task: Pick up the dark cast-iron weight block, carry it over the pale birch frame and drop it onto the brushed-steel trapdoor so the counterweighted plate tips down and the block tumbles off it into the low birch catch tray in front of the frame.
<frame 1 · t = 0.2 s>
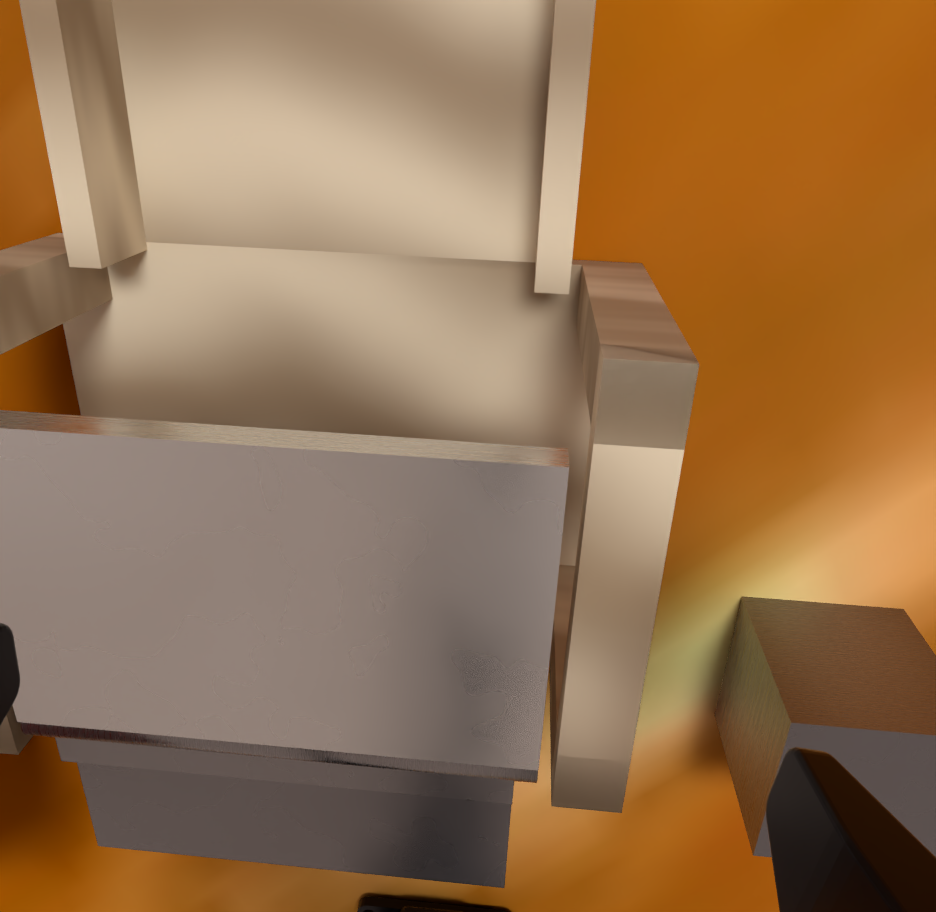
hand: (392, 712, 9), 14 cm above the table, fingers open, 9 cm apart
frame: (349, 442, 23), on the table
iron weight: (803, 663, 26), on the table
trapdoor: (305, 624, 20), point 5 cm above the table, hinge at 0.0°
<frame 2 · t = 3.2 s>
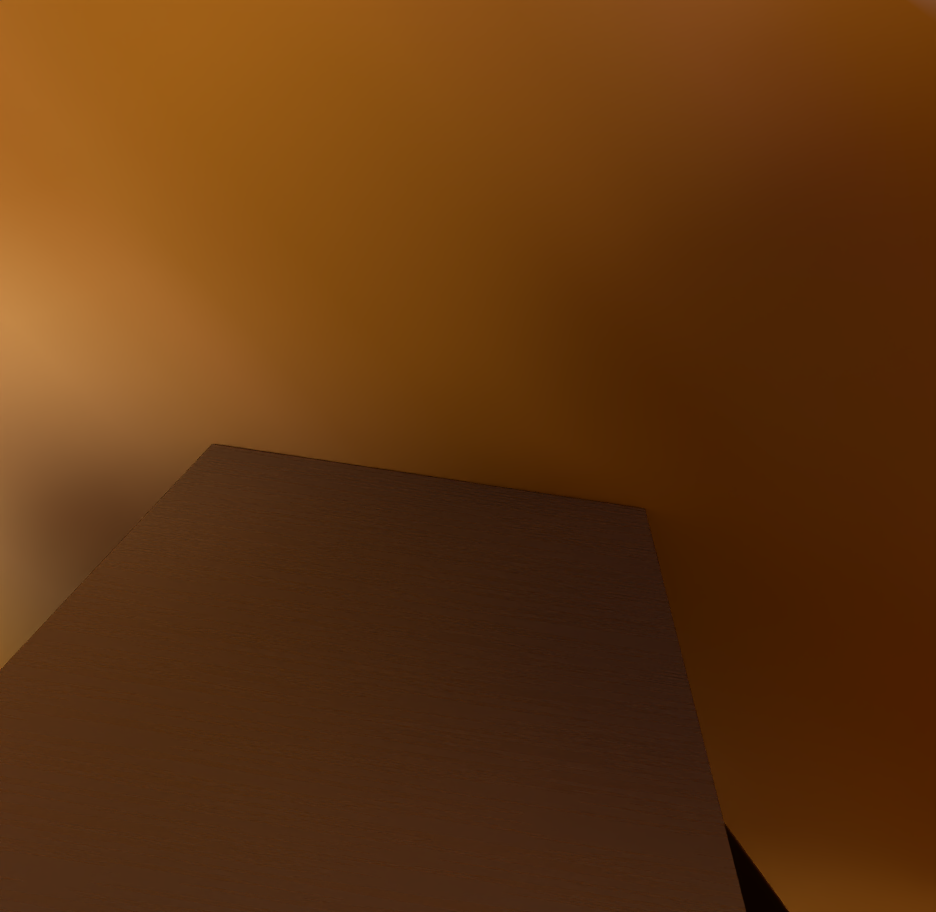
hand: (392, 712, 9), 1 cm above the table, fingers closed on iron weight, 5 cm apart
iron weight: (407, 648, 10), on the table, touching gripper
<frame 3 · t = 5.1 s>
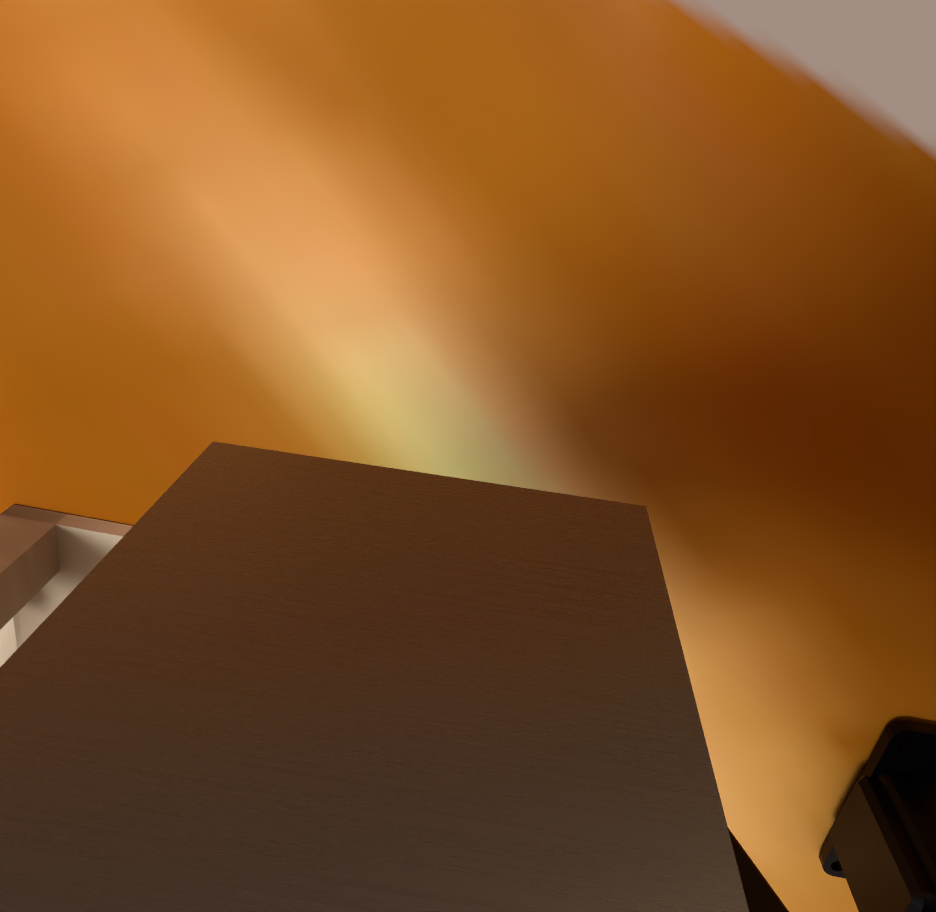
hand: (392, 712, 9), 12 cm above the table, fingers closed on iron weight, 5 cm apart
frame: (205, 739, 26), on the table
iron weight: (408, 646, 10), point 11 cm above the table, touching gripper
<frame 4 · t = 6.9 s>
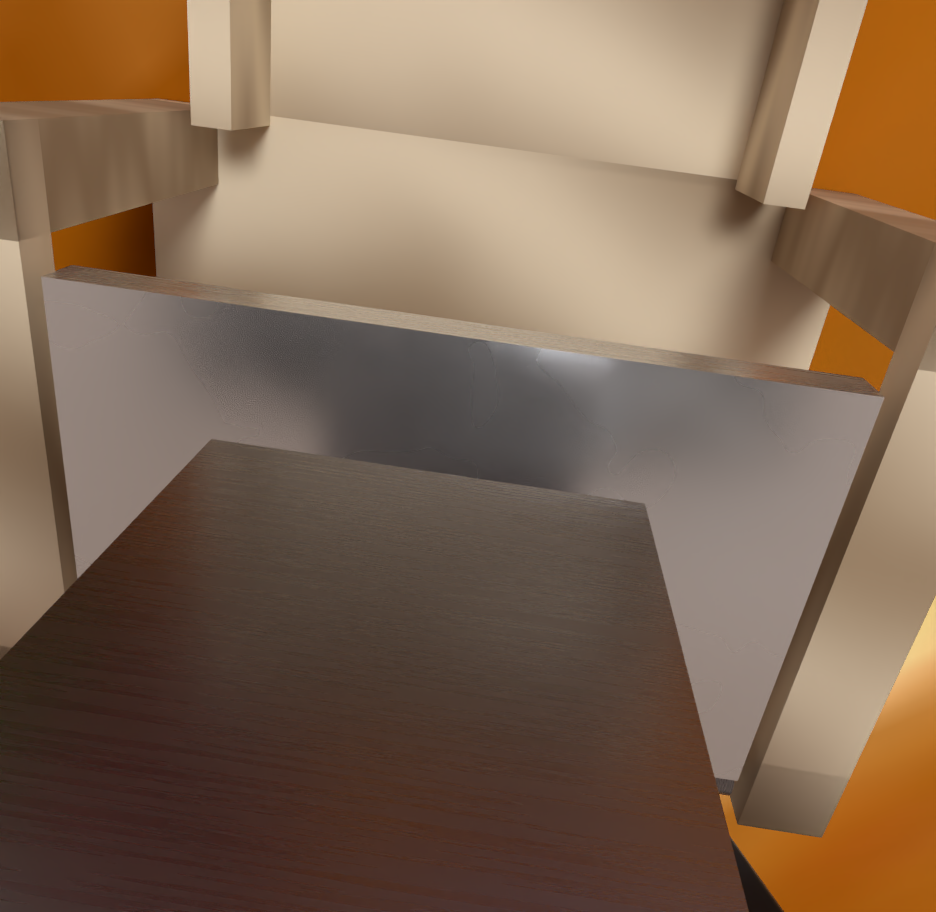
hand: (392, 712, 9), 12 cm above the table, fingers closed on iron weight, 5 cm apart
frame: (471, 383, 20), on the table
iron weight: (407, 644, 10), point 11 cm above the table, touching gripper
trapdoor: (436, 587, 16), point 5 cm above the table, hinge at 0.0°
when the fingers open (12 cm above the table, at t = 7.0 s): iron weight drops 5 cm, resting on trapdoor.
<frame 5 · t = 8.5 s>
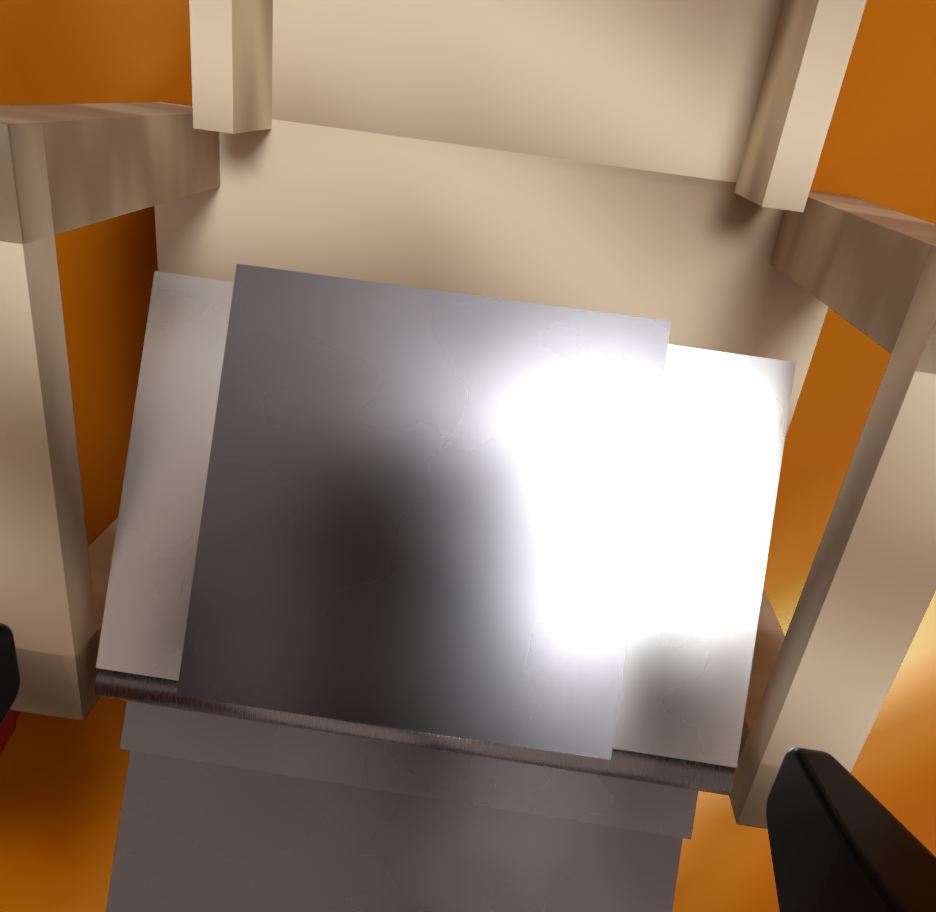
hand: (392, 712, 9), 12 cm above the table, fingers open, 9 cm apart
frame: (472, 385, 20), on the table
iron weight: (447, 490, 14), point 6 cm above the table, tilted 26°, touching trapdoor
trapdoor: (432, 624, 17), point 5 cm above the table, hinge at -25.7°, touching iron weight
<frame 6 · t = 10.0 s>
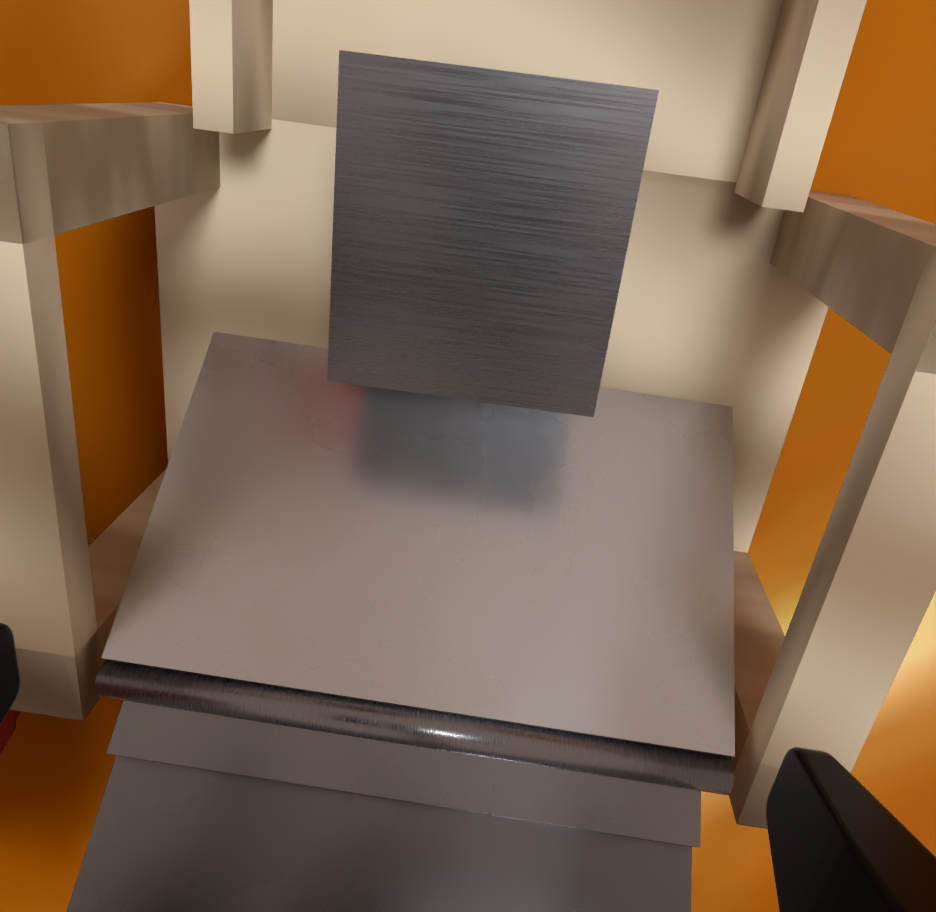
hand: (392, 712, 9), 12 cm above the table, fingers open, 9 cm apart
frame: (472, 385, 20), on the table
iron weight: (470, 357, 17), point 3 cm above the table, tilted 90°, touching frame
trapdoor: (425, 674, 18), point 5 cm above the table, hinge at -51.1°
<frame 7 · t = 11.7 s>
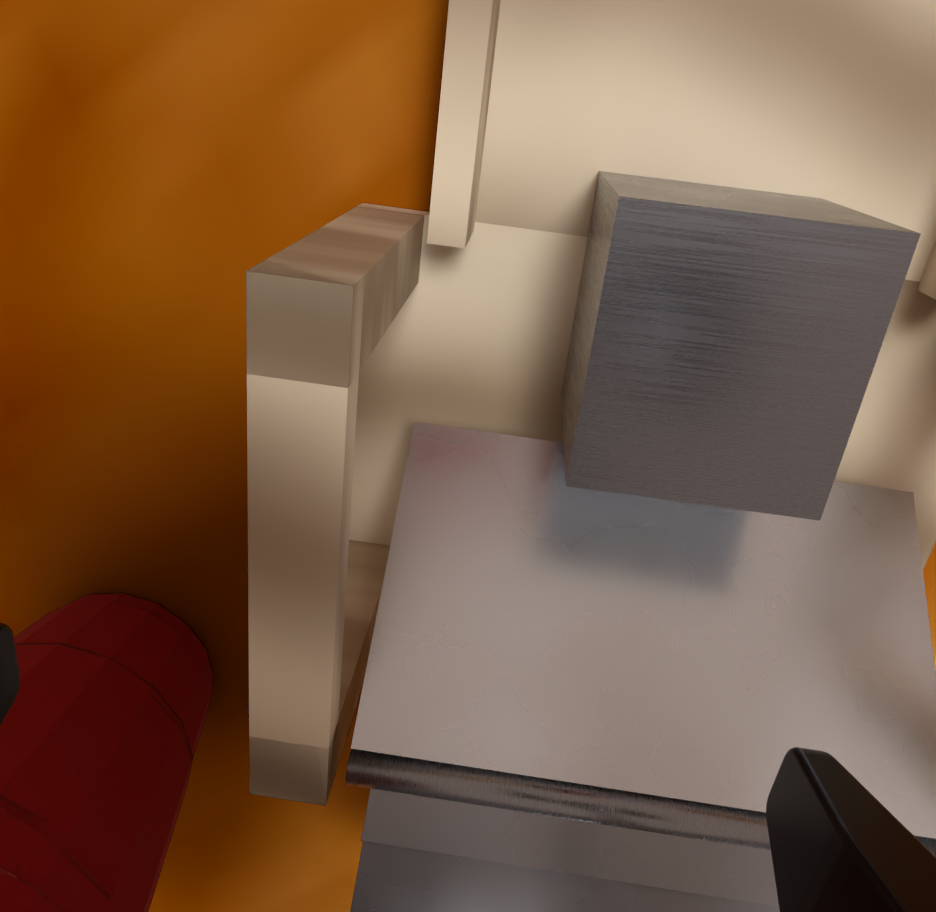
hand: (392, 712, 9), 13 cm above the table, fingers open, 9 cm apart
plastic cup: (131, 663, 26), on the table
frame: (640, 462, 21), on the table
iron weight: (672, 450, 17), point 3 cm above the table, tilted 90°, touching frame
trapdoor: (620, 749, 18), point 5 cm above the table, hinge at -51.1°
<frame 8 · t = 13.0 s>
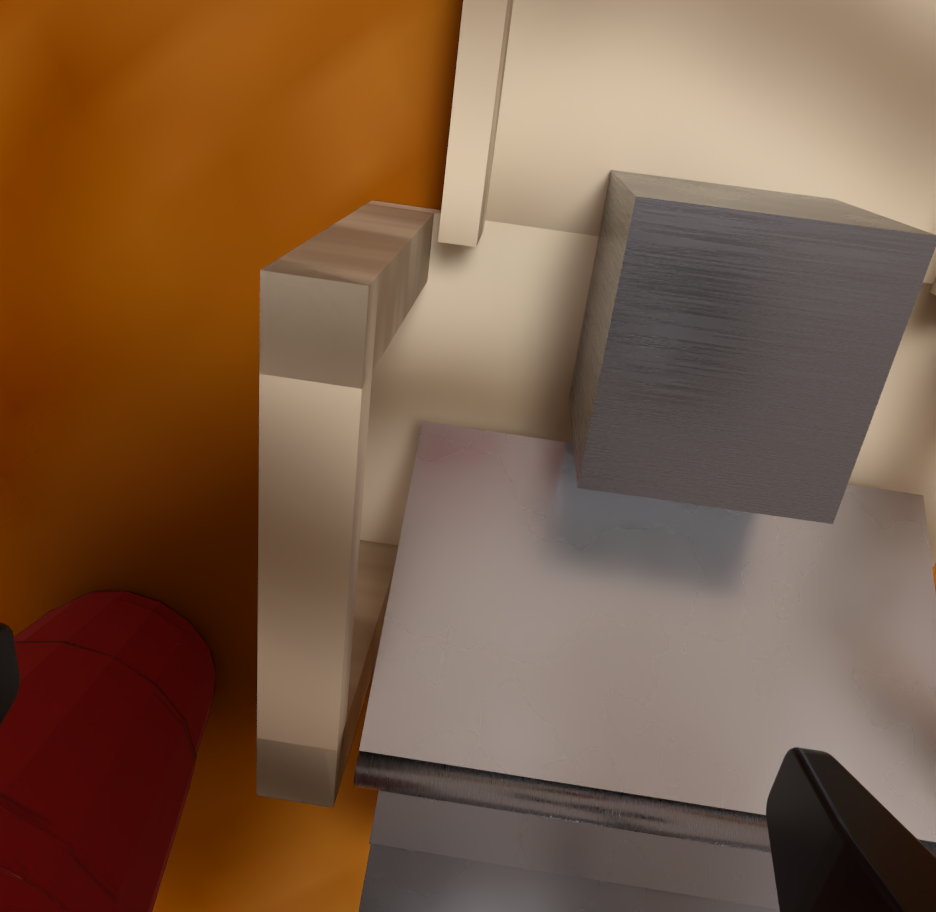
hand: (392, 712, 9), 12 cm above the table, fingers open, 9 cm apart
plastic cup: (133, 661, 26), on the table
frame: (648, 463, 21), on the table
iron weight: (683, 452, 17), point 3 cm above the table, tilted 90°, touching frame
trapdoor: (628, 751, 18), point 5 cm above the table, hinge at -51.1°
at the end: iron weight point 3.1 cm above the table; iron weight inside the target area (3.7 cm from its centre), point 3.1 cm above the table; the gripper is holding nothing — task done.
